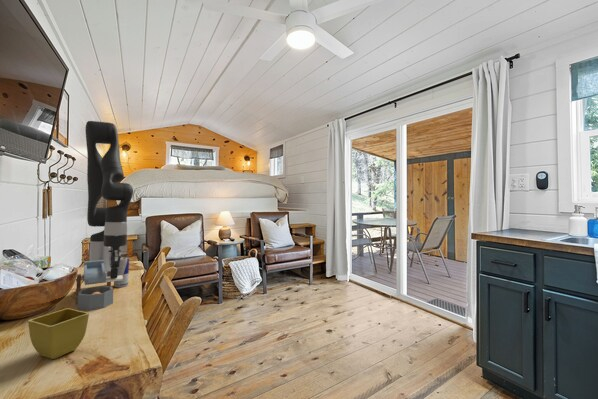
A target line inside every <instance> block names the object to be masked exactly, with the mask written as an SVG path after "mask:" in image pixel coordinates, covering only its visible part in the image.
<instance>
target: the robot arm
mask: <svg viewBox="0 0 598 399" xmlns="http://www.w3.org/2000/svg"><path fill="white" fill-rule="evenodd" d="M85 140H86V141H85V142H86V151H87V152H86V153H87V170H86V171H87V173H86V175H87V176H86V178H87V179H86V180H87V194H88V195H87V196H88V198H87V199H88V200H87V213H86V214H87V217H86V218H87V225H88V226H89V227H95V228H97V227H100V228H101V227H104V228H103V230H102V231H99V232H96V233H93V234H91V235H90V237H89V239H90V240H89V260H88V261H97V260H104V268H105V272H106V277H107V271H111V272H110V277H111V279H113V278H117V275H118V268H119V263H120V258H121V257H122V256H121V255H122V249H120V247H124V246H127V238H128V224H127V223H128V210H129V207H130V203H131V201H132V199H133V196H134V188H133V186H132V185H131V184H130V183H126V182H122V181H123V180H124V176H125V173H124V170H123V167H122V162H121V156H120V145H119V144H120V143H119V142H120V141H119V133H118V129H117V127H116V124H114V123H113V122H107V121H97V120H88V121H86V123H85ZM97 144H102V145H103V144H104V145H105V144H106V145H110V146H109V148H108V149H107V151H106V152H105V153H104V155H103V156H101V154H100V152H99V150H98V148H97ZM101 198H103V199H104V200H106V201H120V202H119V203H118V204H117V205H113V206H108V207H97V205H98V202H99V201H100V200H101Z"/></svg>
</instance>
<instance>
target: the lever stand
mask: <svg viewBox="0 0 598 399" xmlns="http://www.w3.org/2000/svg"><path fill="white" fill-rule="evenodd" d="M110 272H111V271H107V277H110ZM81 285H82V273H77V274H76V289H75V305H78V291H81V290H84V289H87V288H91V287H92V286H88V287H82V286H81ZM99 286H100V285H97V286H94V287H99ZM102 286H109V287H112V282H106V284H104V285H102ZM81 287H82V288H81Z"/></svg>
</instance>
